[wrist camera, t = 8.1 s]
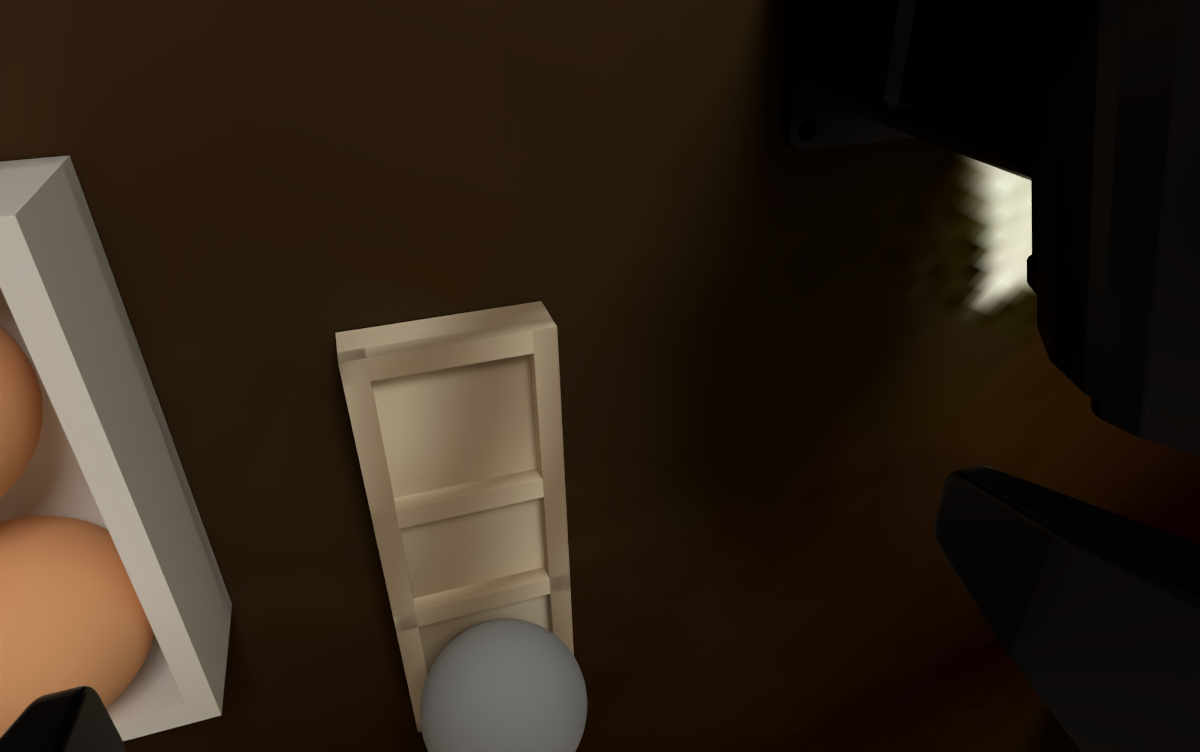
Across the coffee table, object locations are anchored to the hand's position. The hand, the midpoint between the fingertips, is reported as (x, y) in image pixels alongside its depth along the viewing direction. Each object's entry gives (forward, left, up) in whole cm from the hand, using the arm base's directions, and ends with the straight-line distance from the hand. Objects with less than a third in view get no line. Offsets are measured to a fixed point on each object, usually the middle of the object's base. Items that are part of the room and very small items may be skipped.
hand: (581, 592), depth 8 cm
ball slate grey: (0, +13, -11) cm, 17 cm away
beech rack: (0, +9, -12) cm, 15 cm away
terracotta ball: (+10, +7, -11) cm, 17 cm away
